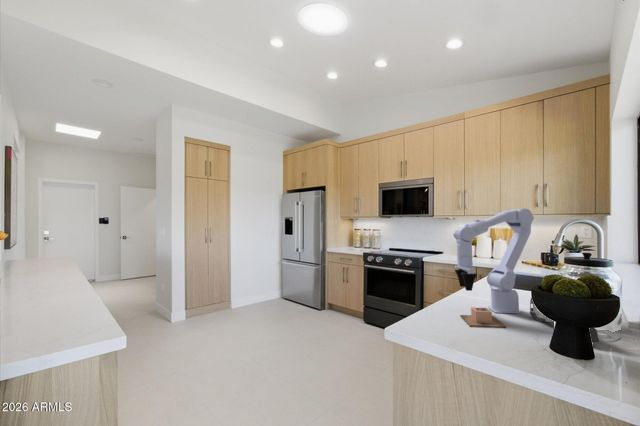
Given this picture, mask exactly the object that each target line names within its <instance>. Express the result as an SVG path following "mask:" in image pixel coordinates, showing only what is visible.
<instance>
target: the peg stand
mask: <svg viewBox="0 0 640 426" xmlns="http://www.w3.org/2000/svg"><path fill="white" fill-rule="evenodd" d="M479 311H484V309H479ZM459 316H460V318H461V319H462V320H463V321H464V323H466V325H468V326H469V327H470V328H491V329H492V328H495V329H496V328H497V329H501V328H502V329H506V328H507V326H506V324H504V323H503V322H501V321H500V320H499V319H497V317H495V316H494V315H492V323H479V322H475V321H474V320H473V319H472V318H471V314H460V315H459Z"/></svg>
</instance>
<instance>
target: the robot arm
mask: <svg viewBox="0 0 640 426" xmlns="http://www.w3.org/2000/svg"><path fill="white" fill-rule="evenodd" d="M504 222H505V223H506V224H507V225H508V226H509V227H510V229H511V230H512V231H513V234H512V237H511V238H510V240H509V243H508V245H507V248H506V249H505V252H504V253H503V255H502V258H501V260H500V262H499V264H498V265H496V266H495V267H493V268H492V270H491V271H490V272H489V273H488V274H487V276H486V282H487V283H488V285H489V287H490V296H491V297H490V299H491V300H490V301H491V305H490V306H487V309H488V310H490V311H491V312H492V313H496V314H497V313H498V314H520V313H521V312H520V305H519V295H518V292H517V290H515V289H514V287H515V284H516V278H517V275H516V273H515V271H514V270H515V268H516V265H517V263H518V260H520V257H521V255H522V253H523V251H524V248H525V246H526V244H527V242H528V239H529V237H530V235H531V232H532V223H533V222H534V215H533V213H532V211H531V210H530V209H529V208H526V207H525V208H519V209H518V208H515V209H507V210H503V211H501V212H499V213H497V214H495V215H494V216H491V217H489V218H487V219H485V220H484V219H482V218H481V219H479V218H477V219H474V221H473V222H470V223H466V224H464V226H459V227H457V228H456V229H455V231H454V233H453V237H454V239H455V241H456V257H457V265H454V268H455V269H454V273H455V274H456V276H457V279H458V284H459V286H460V287H463V288H465V291H472V290H473V287H474V284H475V280H476V278H477V276H478V273H475V271H474V270H475V269H474V265H473V264H474V263H473V240H474V239H475V238H476V237H477V236H480V235H482V234H484V233H487V232H488V231H489V229H490V228H491V227H493V226H496V225H498V224H501V223H504Z"/></svg>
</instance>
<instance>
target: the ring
mask: <svg viewBox="0 0 640 426" xmlns="http://www.w3.org/2000/svg"><path fill="white" fill-rule="evenodd" d="M479 309H484V311H479ZM492 313H493V311H492V310H491V309H489V308H488V307H477V306H476V307H475V306H474V307H472V306H471V307H470V315H471V318H472V319H473V320H474V321H475V322H479V323H492V316H493V314H492Z"/></svg>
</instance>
